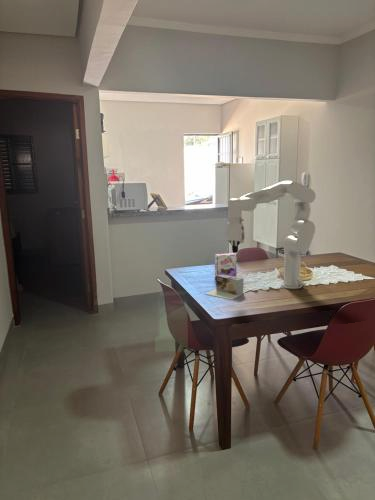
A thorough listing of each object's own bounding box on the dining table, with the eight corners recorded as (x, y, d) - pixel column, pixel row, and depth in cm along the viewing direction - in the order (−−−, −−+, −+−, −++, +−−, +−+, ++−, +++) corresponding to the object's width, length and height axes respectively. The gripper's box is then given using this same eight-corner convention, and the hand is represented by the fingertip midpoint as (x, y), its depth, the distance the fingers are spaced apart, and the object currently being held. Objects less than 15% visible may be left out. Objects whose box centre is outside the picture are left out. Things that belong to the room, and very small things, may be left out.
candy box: (216, 279, 248) (216, 255, 245) (214, 277, 254) (214, 253, 250) (236, 278, 251) (236, 254, 247) (233, 275, 256) (233, 252, 253)
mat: (247, 291, 223) (247, 290, 223) (231, 299, 209) (231, 299, 209) (221, 286, 233) (221, 285, 233) (205, 294, 219) (205, 293, 219)
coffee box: (243, 277, 217) (222, 273, 228) (237, 280, 213) (215, 275, 224) (243, 292, 219) (222, 287, 230) (237, 295, 215) (215, 289, 226)
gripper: (250, 220, 209) (249, 252, 212) (227, 219, 217) (227, 249, 221) (243, 222, 203) (243, 255, 207) (220, 220, 212) (220, 252, 215)
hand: (235, 252), depth 214 cm, fingers closed
